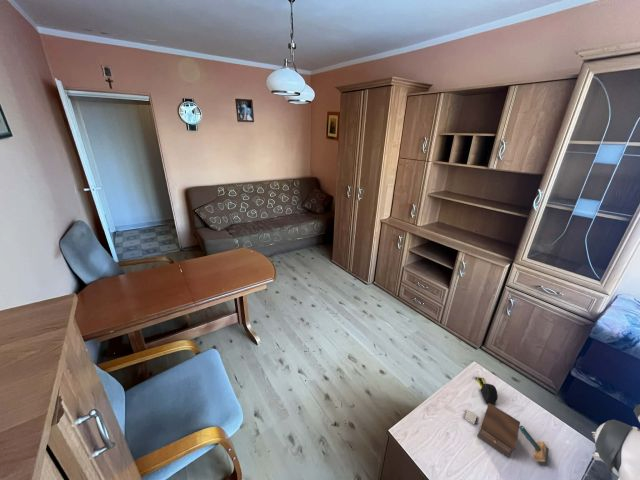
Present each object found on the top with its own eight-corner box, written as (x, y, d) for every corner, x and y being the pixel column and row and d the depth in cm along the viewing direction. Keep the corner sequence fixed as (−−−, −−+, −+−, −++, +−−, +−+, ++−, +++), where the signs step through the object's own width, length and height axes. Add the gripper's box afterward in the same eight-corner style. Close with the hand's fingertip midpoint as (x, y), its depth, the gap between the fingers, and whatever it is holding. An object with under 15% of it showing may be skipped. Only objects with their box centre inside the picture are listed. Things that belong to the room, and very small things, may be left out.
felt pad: (465, 416, 125) (464, 418, 126) (474, 422, 123) (473, 424, 124) (468, 410, 128) (467, 412, 129) (477, 416, 126) (476, 417, 127)
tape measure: (494, 405, 132) (499, 395, 129) (485, 404, 133) (490, 394, 129) (482, 379, 145) (487, 369, 142) (474, 378, 146) (479, 368, 142)
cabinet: (507, 460, 111) (514, 450, 108) (475, 437, 119) (480, 427, 115) (513, 432, 121) (520, 422, 118) (483, 412, 129) (489, 402, 125)
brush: (548, 465, 108) (523, 434, 111) (539, 465, 110) (516, 434, 113) (549, 449, 114) (526, 420, 117) (541, 449, 116) (518, 420, 119)
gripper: (636, 419, 96) (587, 416, 106) (645, 468, 82) (588, 460, 92) (647, 436, 95) (596, 431, 105) (658, 488, 81) (599, 477, 91)
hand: (592, 445), depth 99 cm, fingers open, 8 cm apart
